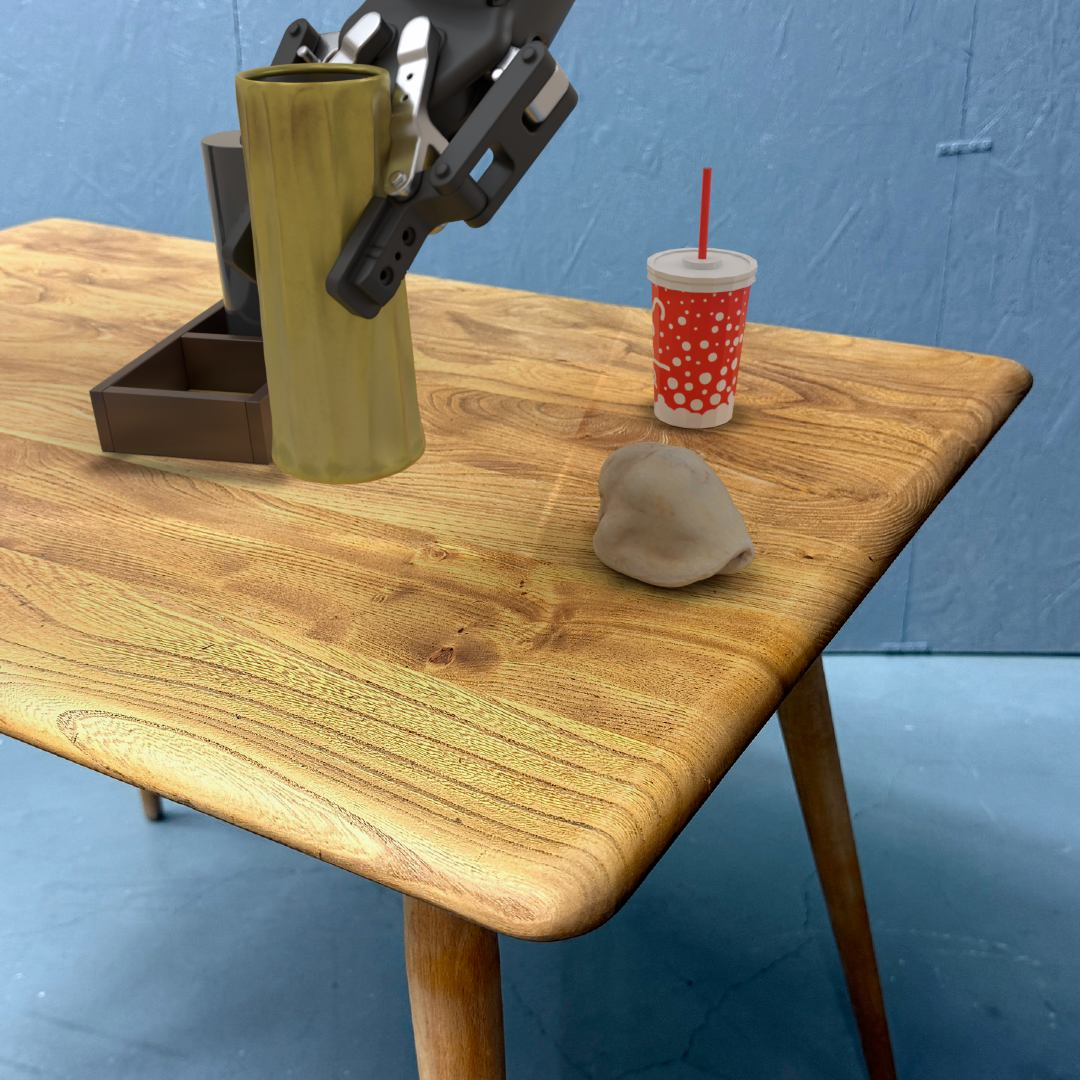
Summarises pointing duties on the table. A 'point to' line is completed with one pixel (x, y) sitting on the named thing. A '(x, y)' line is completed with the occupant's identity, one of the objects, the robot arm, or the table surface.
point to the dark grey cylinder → (230, 226)
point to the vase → (325, 272)
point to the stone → (667, 517)
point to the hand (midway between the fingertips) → (294, 287)
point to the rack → (190, 397)
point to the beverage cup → (698, 327)
